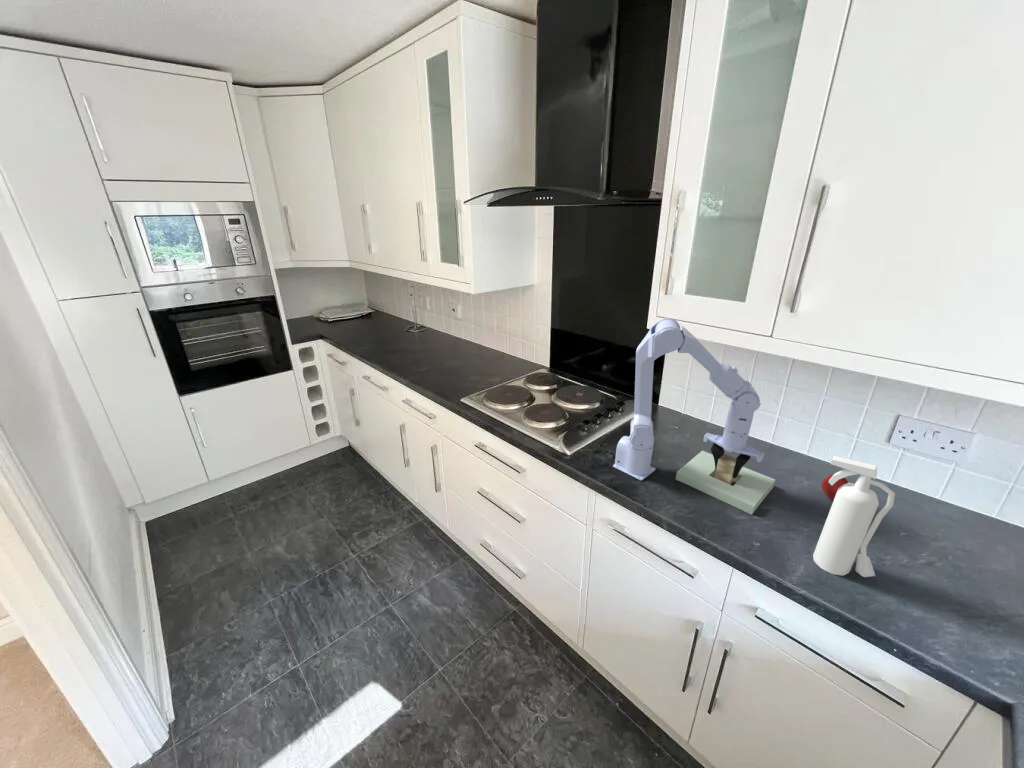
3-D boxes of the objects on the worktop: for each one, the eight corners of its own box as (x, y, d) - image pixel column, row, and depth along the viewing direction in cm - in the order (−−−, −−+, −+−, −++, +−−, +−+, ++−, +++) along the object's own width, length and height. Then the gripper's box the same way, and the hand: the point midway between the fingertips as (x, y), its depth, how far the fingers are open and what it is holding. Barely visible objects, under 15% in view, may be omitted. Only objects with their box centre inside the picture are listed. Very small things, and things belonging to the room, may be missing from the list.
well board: (675, 479, 118) (676, 471, 117) (700, 457, 128) (702, 450, 127) (751, 514, 105) (753, 506, 104) (773, 487, 115) (775, 479, 114)
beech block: (713, 481, 116) (718, 459, 113) (719, 474, 118) (724, 453, 116) (728, 487, 113) (734, 465, 110) (734, 481, 116) (739, 459, 113)
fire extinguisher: (869, 592, 84) (912, 485, 75) (799, 560, 92) (829, 460, 83) (875, 574, 88) (915, 471, 79) (807, 544, 96) (837, 448, 87)
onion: (819, 488, 114) (828, 463, 111) (845, 497, 111) (855, 472, 108) (816, 499, 110) (825, 473, 107) (843, 508, 107) (854, 482, 104)
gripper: (702, 424, 112) (693, 467, 117) (762, 445, 102) (749, 491, 108) (713, 416, 116) (704, 457, 122) (771, 435, 107) (758, 479, 112)
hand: (726, 472), depth 115 cm, fingers closed on beech block, 4 cm apart
